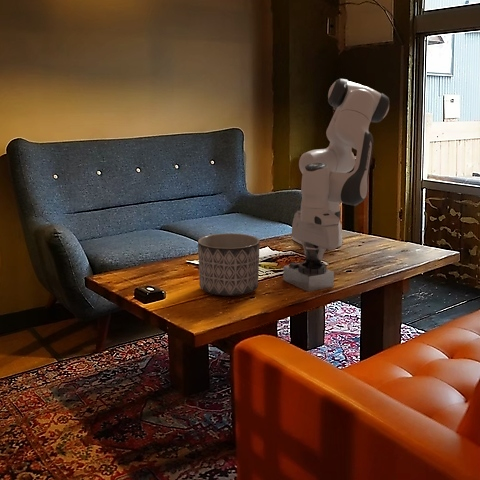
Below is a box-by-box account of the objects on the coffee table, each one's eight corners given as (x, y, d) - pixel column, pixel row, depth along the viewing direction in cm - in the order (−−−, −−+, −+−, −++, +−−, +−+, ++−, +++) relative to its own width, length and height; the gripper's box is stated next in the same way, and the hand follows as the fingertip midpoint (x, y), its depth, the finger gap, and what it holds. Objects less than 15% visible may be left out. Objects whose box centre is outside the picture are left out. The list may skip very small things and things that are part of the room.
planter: (211, 304, 185) (211, 251, 181) (190, 285, 202) (189, 236, 198) (269, 295, 193) (270, 244, 189) (244, 278, 210) (244, 231, 206)
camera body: (283, 280, 208) (283, 260, 206) (307, 275, 213) (307, 256, 211) (308, 291, 196) (309, 271, 195) (333, 286, 201) (334, 266, 200)
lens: (302, 263, 202) (302, 241, 200) (314, 260, 204) (315, 239, 203) (311, 267, 198) (312, 244, 196) (324, 264, 200) (325, 242, 198)
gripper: (287, 210, 204) (286, 251, 208) (326, 221, 187) (325, 265, 191) (302, 208, 207) (302, 248, 211) (343, 219, 190) (341, 262, 194)
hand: (313, 256), depth 201 cm, fingers closed on lens, 5 cm apart
